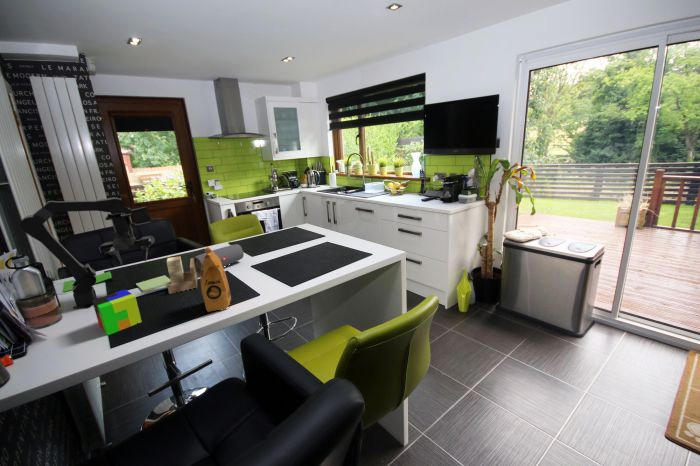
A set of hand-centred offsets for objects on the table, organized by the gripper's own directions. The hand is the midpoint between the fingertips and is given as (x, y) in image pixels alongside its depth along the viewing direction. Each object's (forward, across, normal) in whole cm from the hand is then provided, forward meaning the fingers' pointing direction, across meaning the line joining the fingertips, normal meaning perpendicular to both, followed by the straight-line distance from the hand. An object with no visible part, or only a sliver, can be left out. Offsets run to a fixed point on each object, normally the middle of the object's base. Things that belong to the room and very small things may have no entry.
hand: (133, 262), depth 135 cm
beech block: (+11, +16, -4) cm, 20 cm away
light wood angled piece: (+13, +17, -3) cm, 22 cm away
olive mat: (+13, +4, +4) cm, 14 cm away
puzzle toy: (+12, +2, -30) cm, 33 cm away
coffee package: (+14, +33, -30) cm, 47 cm away
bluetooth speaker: (+15, +32, +13) cm, 37 cm away
